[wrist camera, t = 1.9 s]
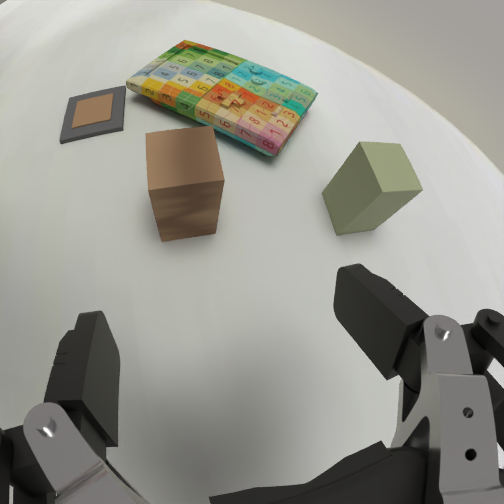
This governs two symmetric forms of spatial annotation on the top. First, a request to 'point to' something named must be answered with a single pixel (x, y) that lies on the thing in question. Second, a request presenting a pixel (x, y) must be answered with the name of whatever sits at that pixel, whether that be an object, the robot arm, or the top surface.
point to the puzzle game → (226, 94)
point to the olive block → (370, 187)
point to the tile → (94, 114)
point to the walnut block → (184, 181)
